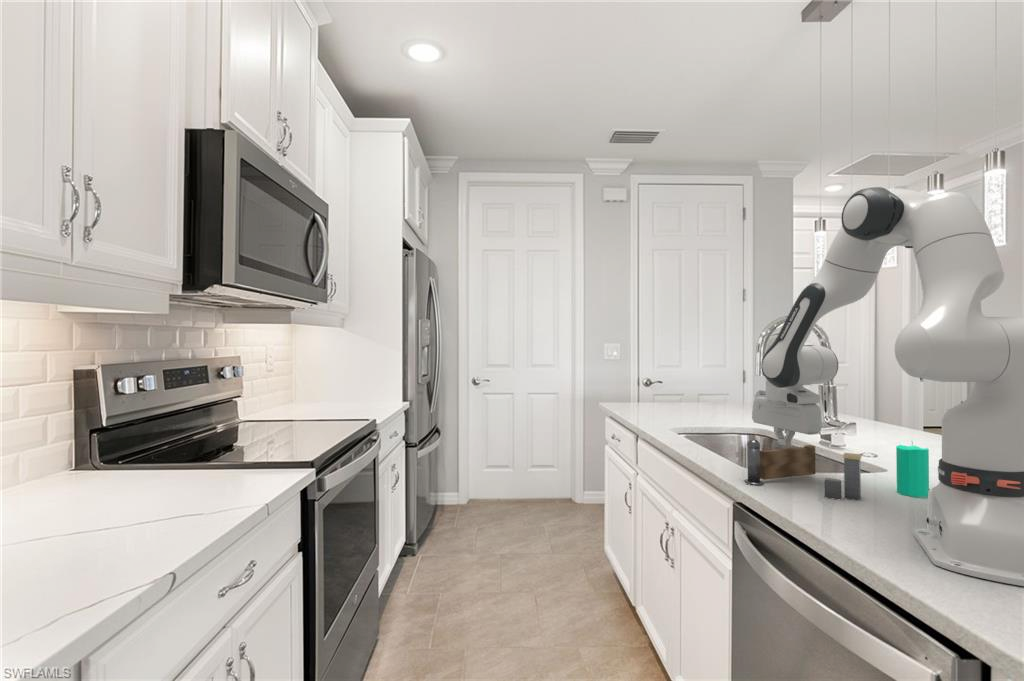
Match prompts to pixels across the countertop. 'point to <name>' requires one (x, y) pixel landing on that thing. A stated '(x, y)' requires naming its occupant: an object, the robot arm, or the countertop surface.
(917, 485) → the candle
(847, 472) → the latch post
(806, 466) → the gate
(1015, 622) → the countertop surface
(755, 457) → the hinge post
